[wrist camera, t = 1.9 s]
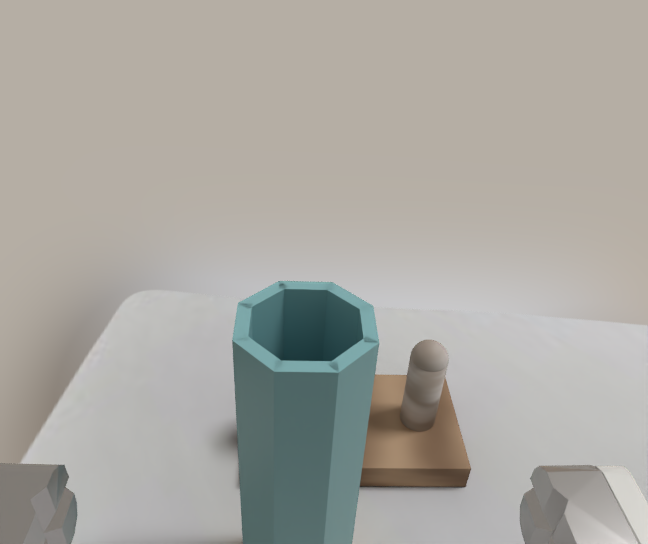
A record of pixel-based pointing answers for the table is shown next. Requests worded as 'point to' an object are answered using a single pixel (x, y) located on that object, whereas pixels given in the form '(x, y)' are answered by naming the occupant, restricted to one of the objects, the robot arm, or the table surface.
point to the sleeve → (302, 410)
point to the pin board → (409, 446)
